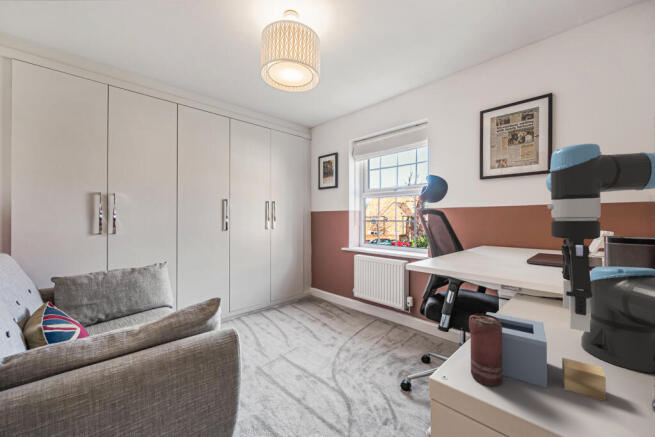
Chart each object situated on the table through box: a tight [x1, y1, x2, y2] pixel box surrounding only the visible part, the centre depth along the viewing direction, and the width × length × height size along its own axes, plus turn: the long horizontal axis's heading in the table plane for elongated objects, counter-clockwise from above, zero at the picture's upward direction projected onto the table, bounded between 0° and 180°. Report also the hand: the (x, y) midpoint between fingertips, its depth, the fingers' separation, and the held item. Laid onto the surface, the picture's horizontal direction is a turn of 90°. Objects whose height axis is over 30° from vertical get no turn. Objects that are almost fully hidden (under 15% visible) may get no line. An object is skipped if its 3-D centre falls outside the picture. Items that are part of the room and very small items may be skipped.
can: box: [468, 313, 503, 387], centre depth 58 cm, size 6×6×14 cm
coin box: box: [485, 311, 548, 389], centre depth 63 cm, size 12×12×10 cm
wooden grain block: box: [561, 357, 607, 402], centre depth 54 cm, size 6×4×5 cm, turn 53°
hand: (575, 318), depth 55 cm, fingers open, 13 cm apart
